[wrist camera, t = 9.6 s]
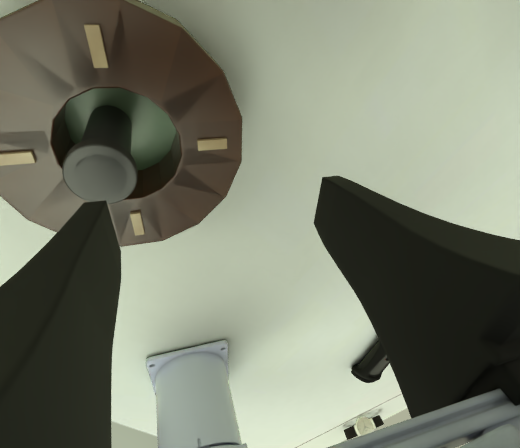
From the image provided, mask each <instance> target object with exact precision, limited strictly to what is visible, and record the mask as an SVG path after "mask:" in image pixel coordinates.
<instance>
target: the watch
mask: <svg viewBox="0 0 520 448" xmlns="http://www.w3.org/2000/svg"><path fill="white" fill-rule="evenodd" d="M383 424H384V423H383V421H382V419H381V418H380V416H379V415H378V416H375V417H373V418H370V419H369V418H367V417H360V418H359V419H358V420H357V421H356V424H355V425H353V426H352V427H350V428H347V429H345V430H344V432H345V435H346V438H347V440H348V439H351V438H353V437H356V436H359V435H361V436H362V435H365V434H368V433H371V432H373V431H374V429H375V428H377V427H379V426H381V425H383Z"/></svg>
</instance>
